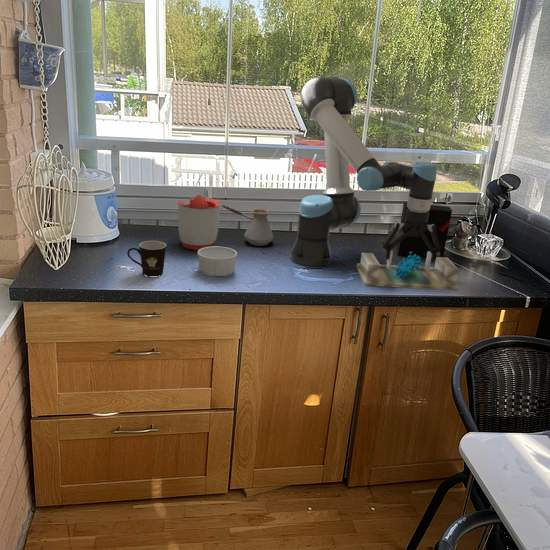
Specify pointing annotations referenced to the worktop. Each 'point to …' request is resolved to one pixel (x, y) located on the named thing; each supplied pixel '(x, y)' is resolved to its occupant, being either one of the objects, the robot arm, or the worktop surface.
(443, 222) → the electrical component
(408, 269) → the gear
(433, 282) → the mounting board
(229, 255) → the ramekin
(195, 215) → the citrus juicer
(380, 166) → the robot arm
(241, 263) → the worktop surface
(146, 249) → the coffee mug
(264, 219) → the coffee pot
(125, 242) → the worktop surface
